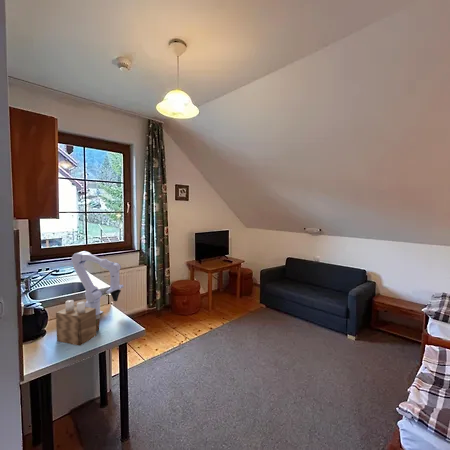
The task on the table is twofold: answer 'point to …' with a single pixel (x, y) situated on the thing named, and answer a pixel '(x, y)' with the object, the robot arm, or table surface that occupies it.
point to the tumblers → (79, 306)
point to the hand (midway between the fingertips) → (115, 300)
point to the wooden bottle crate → (76, 326)
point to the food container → (97, 322)
